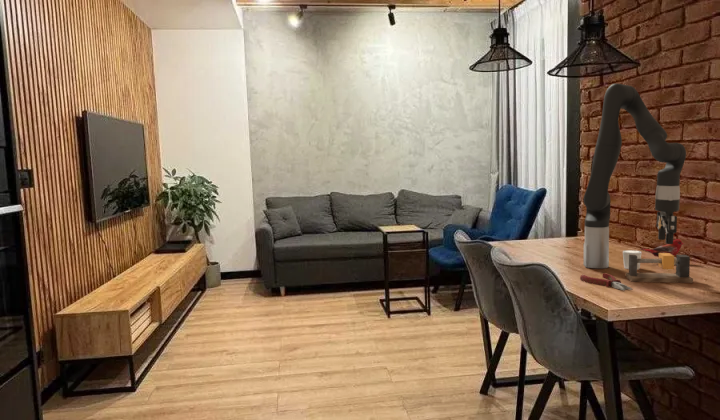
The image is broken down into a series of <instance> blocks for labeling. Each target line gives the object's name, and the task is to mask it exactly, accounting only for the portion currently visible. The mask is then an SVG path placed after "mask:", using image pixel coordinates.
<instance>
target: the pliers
mask: <svg viewBox="0 0 720 420" xmlns="http://www.w3.org/2000/svg"><path fill="white" fill-rule="evenodd" d="M579 279H580V281H582V282H584V281H585V282H584V283H587V282H588V284H592V283H593V284H594V285H598V286H599V285H600V286H605V287H606V288H609V287H610V288H611V287H612V288H614V289H616V290H621V291H626V290H629V291H630V290H633V288H632V287H630V286H628V285H626V284H624V283H622V281H621V280H620V279H616V278H615V276H614V275H612V274H609V273H606V272H603V273H602V278H598V277H593V276H592V277H591V276H588V275H586V274H581V275H580V277H579Z"/></svg>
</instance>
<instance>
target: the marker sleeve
mask: <svg viewBox="0 0 720 420" xmlns="http://www.w3.org/2000/svg"><path fill="white" fill-rule="evenodd" d="M674 257H675V256H674V255H672V254H670V253H659V257H658V259H662V263H657V264H658V267H659V268H660V269H662V270H674V269H675V265H674Z"/></svg>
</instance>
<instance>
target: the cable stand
mask: <svg viewBox="0 0 720 420" xmlns="http://www.w3.org/2000/svg"><path fill="white" fill-rule="evenodd" d="M637 263H640V264H659V263H662V259H659V258H641V259H637V256H636V255H629V269H628V272H625V277H626V278H627V279H628V280H629V281H631V282H635V283H637V282H638V283H641V282H644V283H646V282H647V283H682V284H683V283H684V284H685V283H689V284H691V283H692V284H693V283H694V278H693V277H691V276H690V269H691V268H690V263H691V257H690V256H689V255H687V254H676V255H675V256H674V266H675V273H669V272H668V273H667V272H666V273H665V272H638V269H637Z"/></svg>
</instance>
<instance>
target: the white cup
mask: <svg viewBox="0 0 720 420" xmlns="http://www.w3.org/2000/svg"><path fill="white" fill-rule="evenodd" d="M629 255H636V256H637V259H642V250H641V251H640V250H633V249H632V250H631V249H628V250H625V249H624V250H622V258H623V259H622V260H623V261H622V262H623V268H624V269H626V270H629ZM640 268H641V263H637V270H640Z"/></svg>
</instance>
